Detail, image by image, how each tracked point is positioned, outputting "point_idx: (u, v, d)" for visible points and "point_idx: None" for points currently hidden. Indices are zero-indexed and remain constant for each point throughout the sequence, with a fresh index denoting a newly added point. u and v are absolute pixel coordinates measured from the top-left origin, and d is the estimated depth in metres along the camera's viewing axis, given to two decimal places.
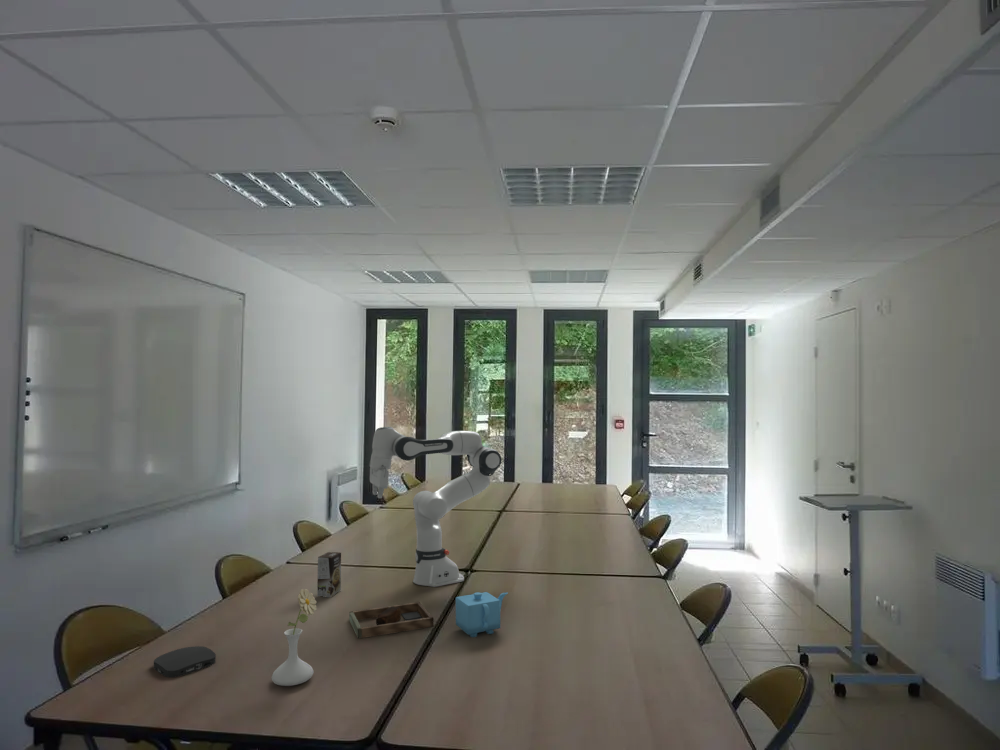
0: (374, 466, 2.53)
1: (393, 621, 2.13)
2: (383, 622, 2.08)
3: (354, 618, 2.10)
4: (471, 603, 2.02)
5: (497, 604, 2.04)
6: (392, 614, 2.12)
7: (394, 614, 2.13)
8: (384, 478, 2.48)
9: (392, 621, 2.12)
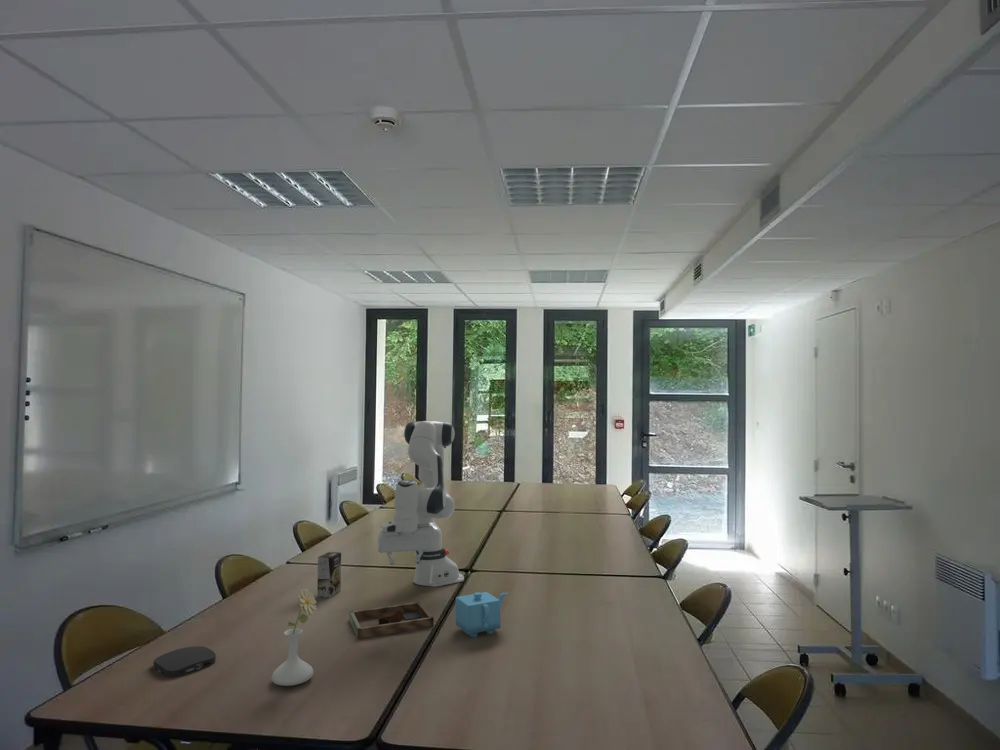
0: (415, 528, 2.16)
1: (396, 621, 2.12)
2: (386, 622, 2.08)
3: (354, 618, 2.10)
4: (471, 603, 2.02)
5: (497, 604, 2.04)
6: (395, 614, 2.12)
7: (397, 614, 2.13)
8: None
9: (395, 621, 2.12)
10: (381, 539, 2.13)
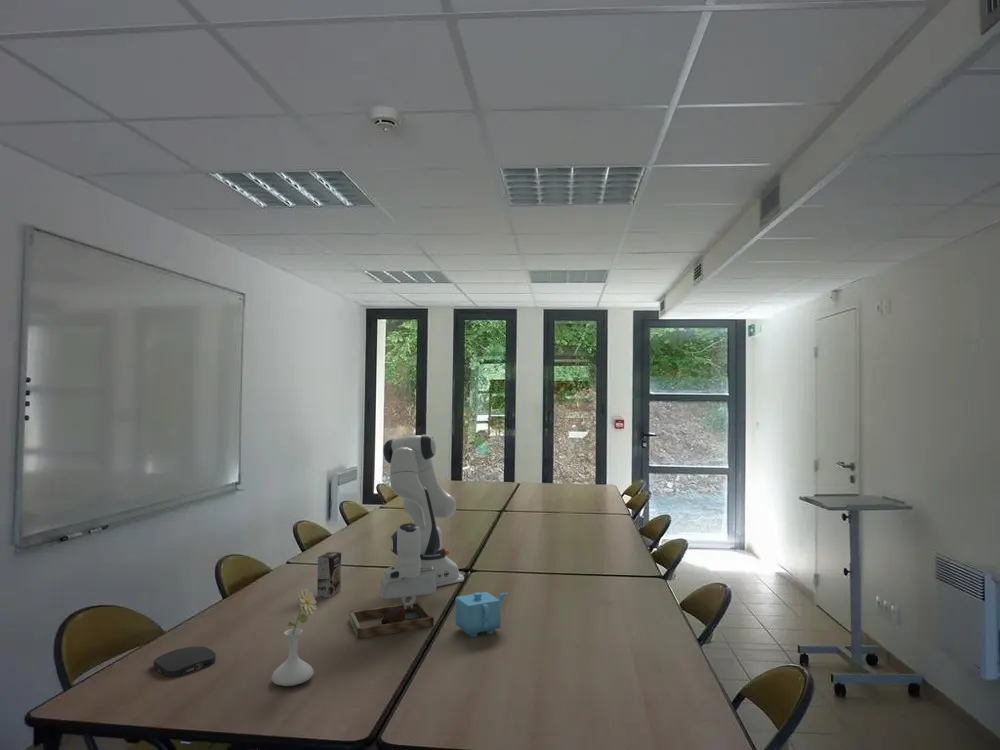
0: (418, 573, 2.15)
1: None
2: None
3: (354, 618, 2.10)
4: (471, 603, 2.02)
5: (497, 604, 2.04)
6: (397, 615, 2.11)
7: (399, 615, 2.13)
8: None
9: None
10: (384, 586, 2.11)
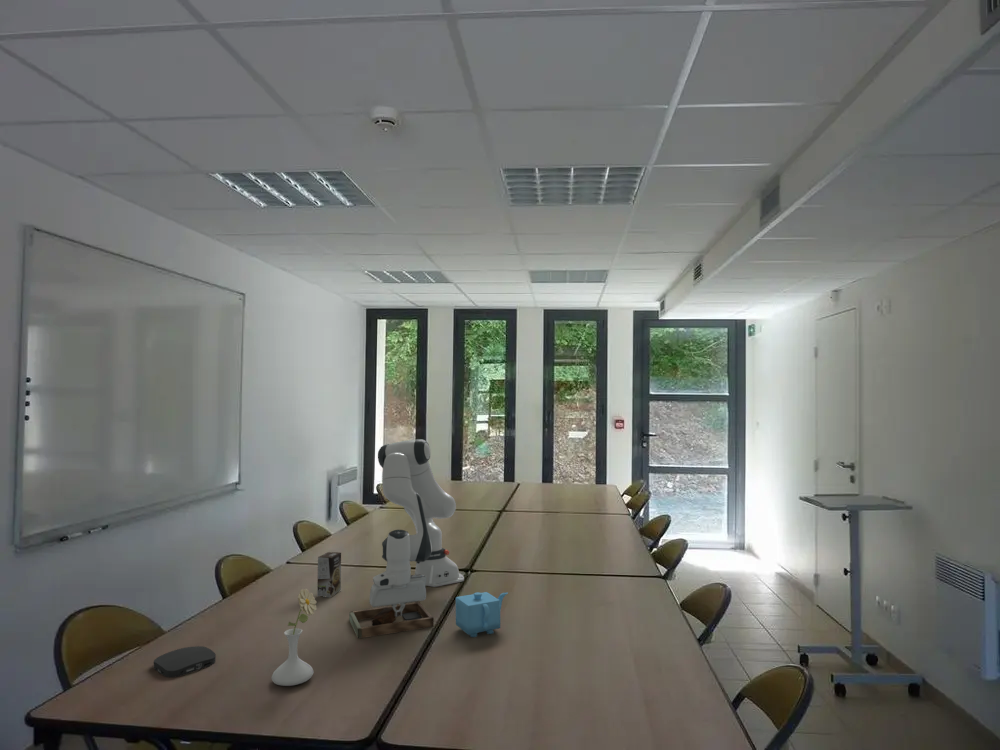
0: (408, 580, 2.13)
1: (389, 622, 2.11)
2: (379, 623, 2.06)
3: (354, 618, 2.10)
4: (471, 603, 2.02)
5: (497, 604, 2.04)
6: (387, 615, 2.10)
7: (389, 615, 2.12)
8: None
9: (388, 622, 2.10)
10: (374, 593, 2.09)
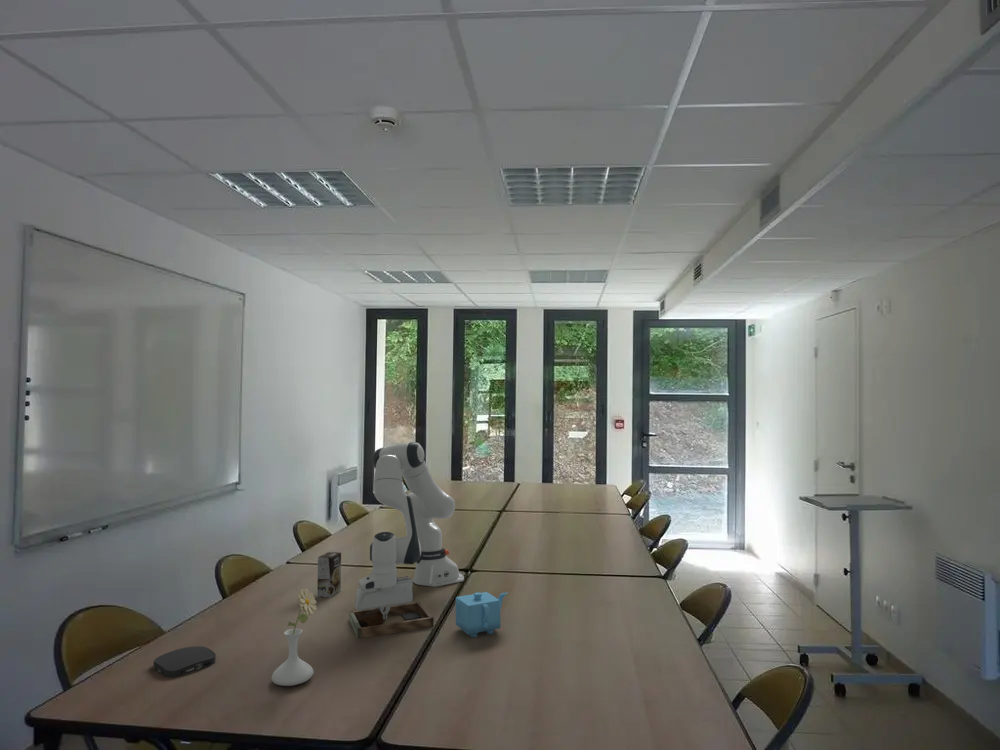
0: (394, 583, 2.11)
1: (377, 622, 2.10)
2: (365, 624, 2.05)
3: (354, 618, 2.10)
4: (471, 603, 2.02)
5: (497, 604, 2.04)
6: (375, 615, 2.09)
7: (377, 615, 2.11)
8: None
9: (375, 622, 2.09)
10: (360, 597, 2.07)
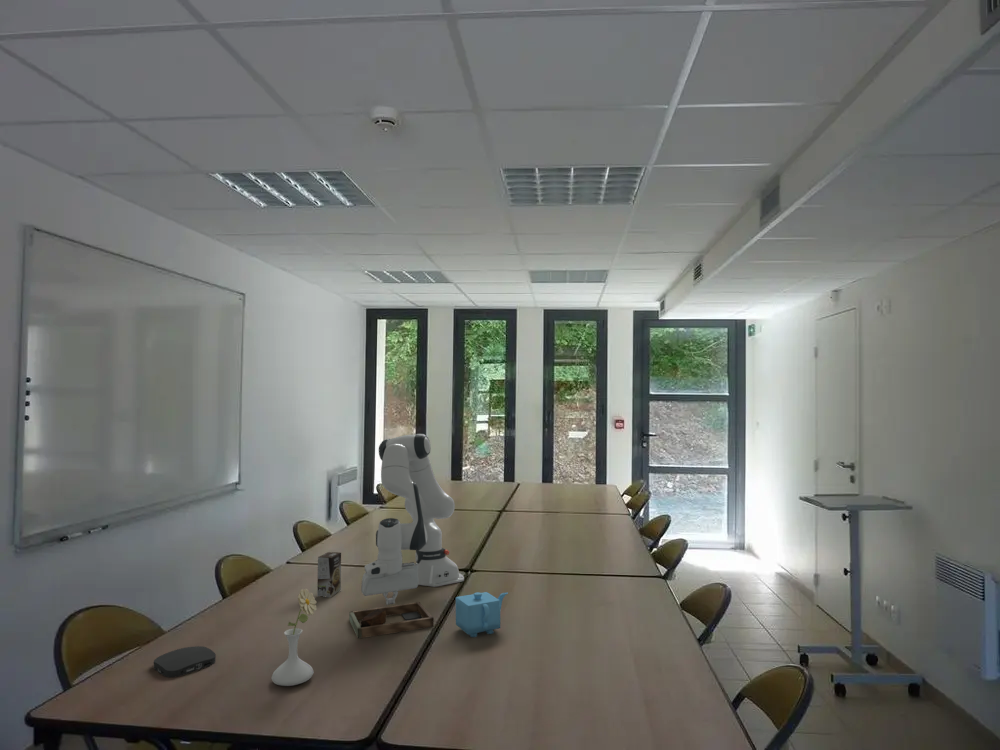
0: (400, 568, 2.13)
1: (378, 624, 2.10)
2: (368, 625, 2.05)
3: (354, 618, 2.10)
4: (471, 603, 2.02)
5: (497, 604, 2.04)
6: (377, 617, 2.09)
7: (379, 617, 2.11)
8: None
9: (377, 624, 2.09)
10: (365, 582, 2.08)
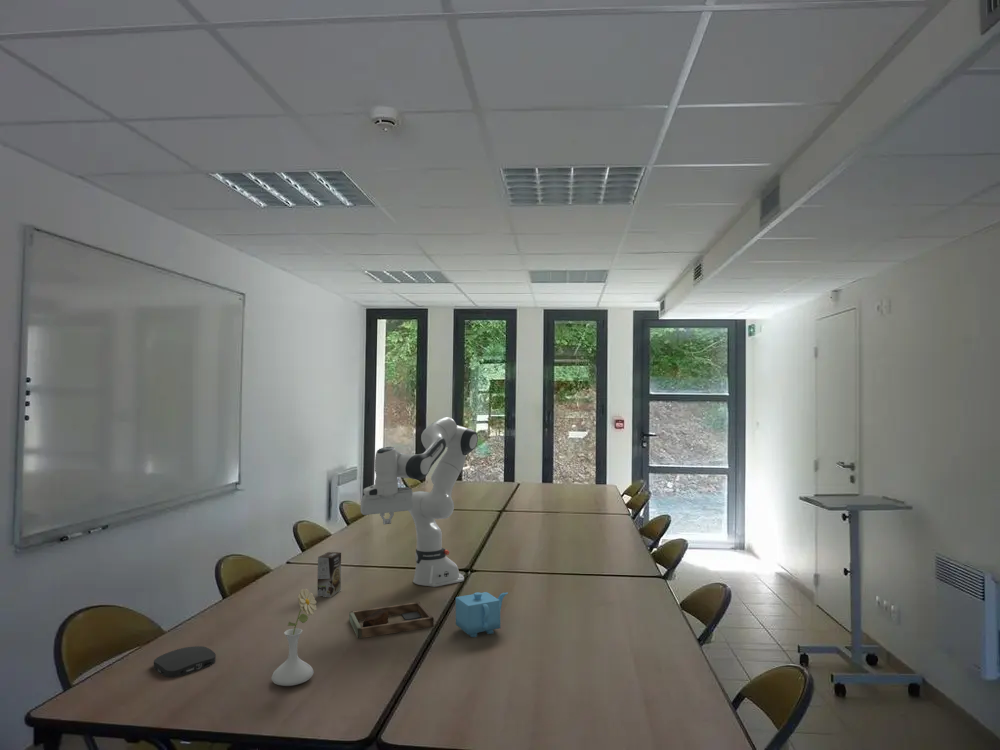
0: (395, 491, 2.33)
1: (380, 624, 2.10)
2: (370, 625, 2.05)
3: (354, 618, 2.10)
4: (471, 603, 2.02)
5: (497, 604, 2.04)
6: (379, 617, 2.09)
7: (381, 617, 2.10)
8: None
9: (379, 624, 2.09)
10: (364, 502, 2.29)
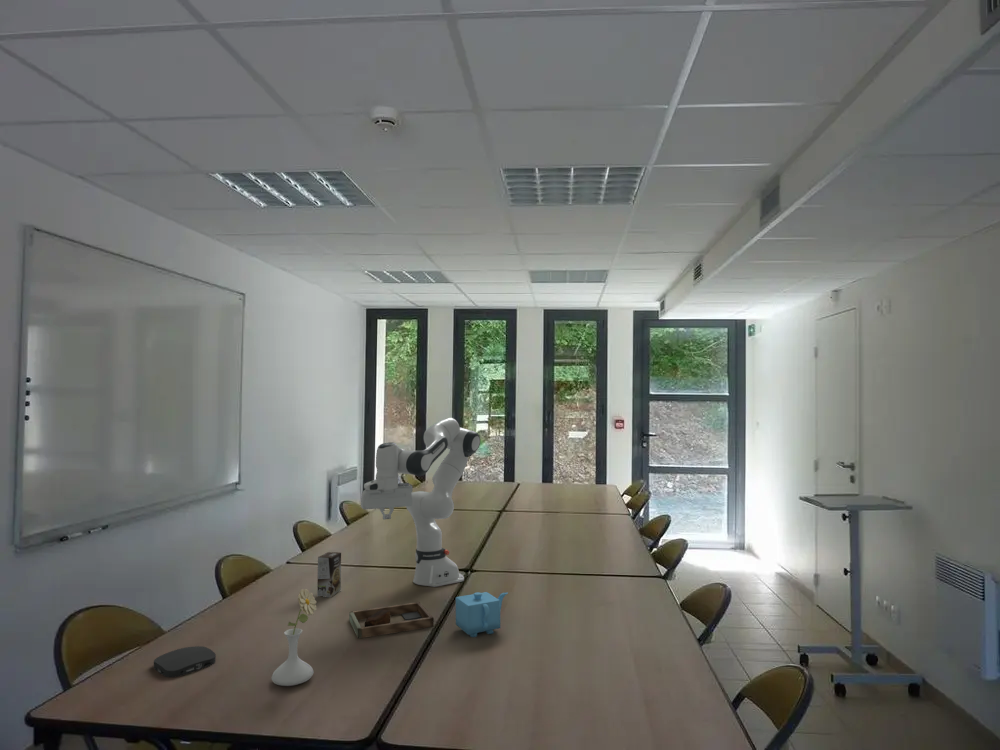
0: (396, 486, 2.34)
1: None
2: None
3: (354, 618, 2.10)
4: (471, 603, 2.02)
5: (497, 604, 2.04)
6: (381, 618, 2.09)
7: (383, 618, 2.10)
8: None
9: None
10: (364, 497, 2.30)
